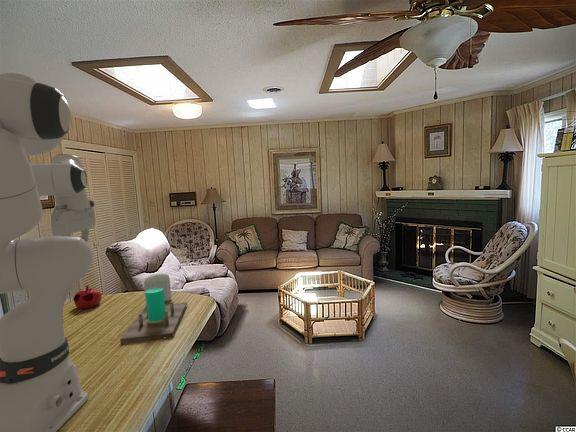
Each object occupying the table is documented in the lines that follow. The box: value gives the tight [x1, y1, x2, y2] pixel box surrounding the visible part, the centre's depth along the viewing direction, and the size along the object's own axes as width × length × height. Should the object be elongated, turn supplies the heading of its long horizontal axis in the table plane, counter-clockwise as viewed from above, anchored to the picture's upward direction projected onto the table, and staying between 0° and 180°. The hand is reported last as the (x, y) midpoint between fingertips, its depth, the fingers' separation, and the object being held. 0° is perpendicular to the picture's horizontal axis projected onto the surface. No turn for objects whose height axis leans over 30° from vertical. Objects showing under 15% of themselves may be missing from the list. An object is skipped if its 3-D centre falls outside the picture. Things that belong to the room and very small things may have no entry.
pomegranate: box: [72, 284, 102, 310], centre depth 128 cm, size 10×10×9 cm
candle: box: [144, 288, 166, 322], centre depth 108 cm, size 6×6×12 cm
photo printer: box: [143, 273, 172, 305], centre depth 128 cm, size 10×4×12 cm, turn 123°
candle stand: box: [119, 301, 188, 344], centre depth 109 cm, size 26×16×6 cm, turn 9°
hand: (77, 244), depth 101 cm, fingers open, 8 cm apart
